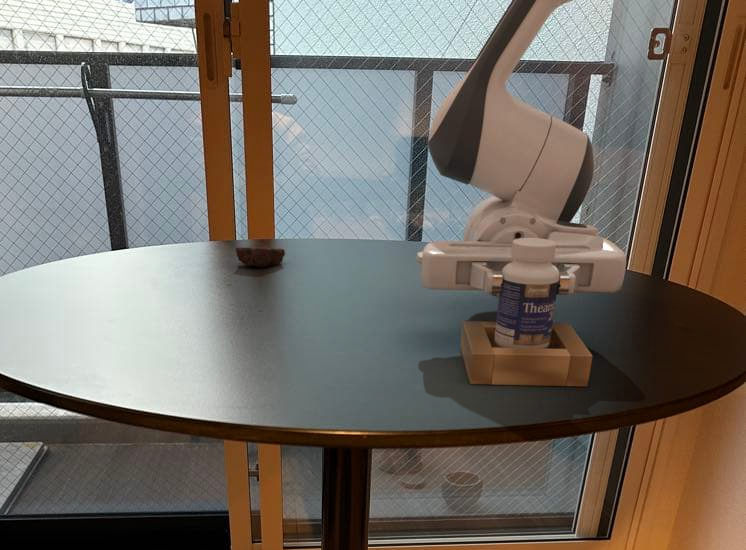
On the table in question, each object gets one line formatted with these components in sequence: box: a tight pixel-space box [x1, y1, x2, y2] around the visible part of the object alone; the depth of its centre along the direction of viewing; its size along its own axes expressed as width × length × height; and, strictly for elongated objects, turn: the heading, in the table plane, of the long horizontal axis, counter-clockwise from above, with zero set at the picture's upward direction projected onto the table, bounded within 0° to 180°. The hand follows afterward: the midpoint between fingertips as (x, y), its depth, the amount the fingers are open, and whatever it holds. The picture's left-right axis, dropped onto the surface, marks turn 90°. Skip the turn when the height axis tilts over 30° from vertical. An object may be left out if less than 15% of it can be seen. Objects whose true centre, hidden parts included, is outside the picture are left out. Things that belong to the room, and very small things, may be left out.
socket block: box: [460, 320, 593, 388], centre depth 79 cm, size 11×11×3 cm
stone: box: [235, 246, 286, 268], centre depth 119 cm, size 7×7×3 cm
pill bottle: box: [494, 238, 559, 349], centre depth 77 cm, size 5×5×10 cm
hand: (531, 285), depth 75 cm, fingers closed on pill bottle, 5 cm apart
